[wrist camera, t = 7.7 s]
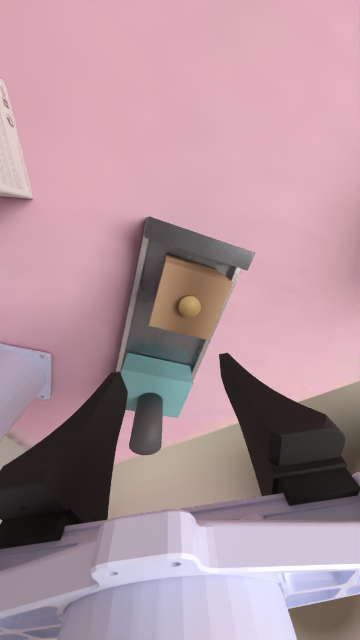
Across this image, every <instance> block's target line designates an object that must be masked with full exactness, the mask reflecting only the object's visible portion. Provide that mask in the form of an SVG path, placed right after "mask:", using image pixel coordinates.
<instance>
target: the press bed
mask: <svg viewBox="0 0 360 640" xmlns="http://www.w3.org/2000/svg"><path fill="white" fill-rule="evenodd" d="M167 253H170V254H173V255H176V256H179V257H182V258H185V259H189V260H192V261H195V262H198V263H201V264H204V265H208V266H211V267H214V268H216V269H217V270H218V271H219V272H221V273H222V274H223V275H224V276H225V277H227V278H228V279H229V280H230V281H231V282H233V284H232V286H231V288H230V291H229V293H228V295H227V298H226V300H225V302H224V305H223V307H222V309H221V312H220V314H219V316H218V319H217V321H216V323H215V326H214V328H213V330H212V333H211V335H210V337H209V340H206V339H202V338H198V337H193V336H189V335H185V334H181V333H177V332H173V331H169V330H165V329H160V328H156V327H152V326H149V323H150V318H151V314H152V309H153V305H154V300H155V296H156V292H157V289H158V285H159V281H160V277H161V273H162V269H163V265H164V262H165V258H166V254H167ZM254 255H255V253H254V252H251V251H248V250H245V249H242V248H239V247H237V246H234V245H231V244H228V243H225V242H222V241H219V240H216V239H213V238H210V237H207V236H204V235H202V234H199V233H196V232H193V231H190V230H187V229H184V228H181V227H178V226H175V225H172V224H170V223H167V222H164V221H161V220H158V219H155V218H152V217H146V222H145V227H144V232H143V237H142V242H141V247H140V252H139V257H138V262H137V267H136V272H135V277H134V282H133V286H132V291H131V296H130V301H129V306H128V311H127V316H126V321H125V326H124V331H123V336H122V341H121V346H120V351H119V356H118V361H117V366H116V371H115V372H119V371H120V373H121V371H122V368H123V365H124V362H125V359H126V356H127V353H131V354H136V355H141V356H146V357H150V358H155V359H160V360H164V361H169V362H174V363H179V364H183V365H188V366H190V367H191V374H192V380H193V379H194V377H195V375H196V373H197V370H198V368H199V366H200V363H201V361H202V359H203V357H204V354H205V352H206V350H207V347H208V345H209V343H210V340H211V338H212V336H213V334H214V331H215V329H216V327H217V324H218V322H219V320H220V317H221V315H222V313H223V311H224V308H225V306H226V304H227V301H228V299H229V297H230V294H231V292H232V290H233V288H234V285H235V283H236V281H237V278H238V276H239V274H240V271H241V269H244V270H248V268H249V266H250V263H251V261H252V259H253V257H254Z"/></svg>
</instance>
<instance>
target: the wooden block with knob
mask: <svg viewBox="0 0 360 640" xmlns="http://www.w3.org/2000/svg"><path fill="white" fill-rule="evenodd" d="M232 284H233V282H231V281H230V280H229V279H228V278H227V277H225V276H224V275H223V274H222V273H221V272H219V271H218V270H217V269H216V268H214V267H211V266H208V265H204V264H201V263H198V262H195V261H192V260H189V259H185V258H182V257H179V256H176V255H173V254H170V253H167V254H166V258H165V262H164V265H163V269H162V273H161V277H160V281H159V285H158V289H157V292H156V296H155V300H154V305H153V309H152V314H151V318H150V323H149V326H152V327H156V328H160V329H165V330H169V331H173V332H177V333H181V334H185V335H189V336H193V337H198V338H202V339H206V340H209V337H210V335H211V333H212V330H213V328H214V326H215V323H216V321H217V319H218V316H219V314H220V312H221V309H222V307H223V305H224V302H225V300H226V298H227V295H228V293H229V291H230V288H231V286H232Z"/></svg>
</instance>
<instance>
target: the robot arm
mask: <svg viewBox="0 0 360 640" xmlns="http://www.w3.org/2000/svg"><path fill="white" fill-rule="evenodd" d="M42 355H43V356H44V357H43V356H42ZM219 359H220V370H221V378H222V381H223V384H224V388H225V390H226V393H227V395H228V398H229V400H230V402H231V405H232V407H233V409H234V411H235V414H236V416H237V418H238V421H239V424H240V426H241V429H242V432H243V435H244V439H245V442H246V445H247V448H248V451H249V454H250V458H251V461H252V464H253V467H254V470H255V473H256V477H257V480H258V484H259V488H260V491H261V494H262V496H260V497H254V498H247V499H241V500H234V501H228V502H221V503H214V504H208V505H201V506H195V507H188V508H181V509H167V510H161V511H154V512H147V513H141V514H134V515H128V516H121V517H116V518H112V519H109V520H107V518H108V505H109V495H110V487H111V478H112V471H113V464H114V457H115V451H116V445H117V441H118V436H119V432H120V429H121V425H122V421H123V417H124V413H125V409H126V404H127V397H128V391H127V388H126V386H125V383H124V381H123V378H122V376H121V373H120V371H119V372H113V373H111V374H110V375H109V376H108V377H107V378H106V380H105V381H104V382H103V383H102V384H101V385H100V387H99V388H98V389H97V390H96V391H95V392H94V393H93V395H92V396H91V397H90V398H89V399H88V400H87V401H86V402H85V403H84V404H83V405H82V406H81V407H80V408H79V409H78V410H77V411H76V412H75V413H74V414H73V415H72V416H71V417H70V418H69V419H68V420H67V421H65V422H64V423H63V424H62V425H61V426H59V427H58V428H57V429H56V430H55V431H53V432H52V433H51V434H50V435H48V436H47V437H46V438H44V439H43V440H42V441H40V442H39V443H38V444H36V445H35V446H34V447H32V448H31V449H29V450H28V451H26V452H25V453H23V454H22V455H20V456H19V457H17V458H16V459H14V460H13V461H11V462H10V463H8V464H6V465H5V466H3V468H2V469H1V471H0V519H1V520H3V521H2V522H1V524H0V640H38V639H52V638H58V639H57V640H297V638H296V635H295V632H294V629H293V625H292V622H291V619H290V616H289V613H288V609H289V608H294V607H299V606H303V605H308V604H313V603H318V602H323V601H328V600H332V599H337V598H342V597H347V596H352V595H356V594H360V472H358V473H355V474H354V475H352V476H351V475H350V473H349V472H348V470H347V469H346V467H347V464H346V463H345V461H344V460H343V459H342V457H341V453H342V450H343V447H344V445H345V436H344V434H343V433H342V432H341V431H340V429H339V428H338V427H337V426H336V425H335V424H334V423H333V422H332V421H331V420H330V419H329V418H328V417H327V416H326V415H325V414H323V413H321V412H318V411H316V410H313V409H311V408H308V407H306V406H304V405H301V404H299V403H297V402H295V401H293V400H291V399H289V398H287V397H285V396H283V395H281V394H280V393H278V392H276V391H274V390H273V389H271V388H269V387H268V386H266V385H265V384H263V383H262V382H261V381H259V380H258V379H257V378H255V377H254V376H253V375H251V374H250V373H249V372H248V371H247V370H245V369H244V368H243V367H242V366H241V365H240V364H239V363H238V362H237V361H236V360H235V359H234V358H233V357H232V356H231V355H230V354H228V353H224V354H219ZM51 377H52V355H51V354H50V353H46V352H41V351H36V350H31V349H26V348H21V347H16V346H11V345H6V344H1V343H0V440H1V439H2V438H3V437H4V436H5V434H6V433H7V432H8V431H9V429H10V428H11V427H12V426H13V424H14V423H15V422H16V421H17V419H18V418H19V417H20V416H21V415H22V413H23V412H24V411H25V410H26V408H27V407H28V406H29V405H30V403H31V402H32V401H33V400H34V398H38V399H45V400H48V399H50V397H51Z"/></svg>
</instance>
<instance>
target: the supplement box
mask: <svg viewBox="0 0 360 640" xmlns="http://www.w3.org/2000/svg"><path fill="white" fill-rule="evenodd" d="M0 196H5V197H16V198H27V199H33V195H32V190H31V185H30V181H29V177H28V173H27V169H26V165H25V161H24V157H23V152H22V148H21V144H20V140H19V136H18V132H17V127H16V123H15V119H14V115H13V111H12V108H11V103H10V99H9V95H8V92H7V88H6V85H5V83H4V82H3V81H2V80H1V79H0Z"/></svg>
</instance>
